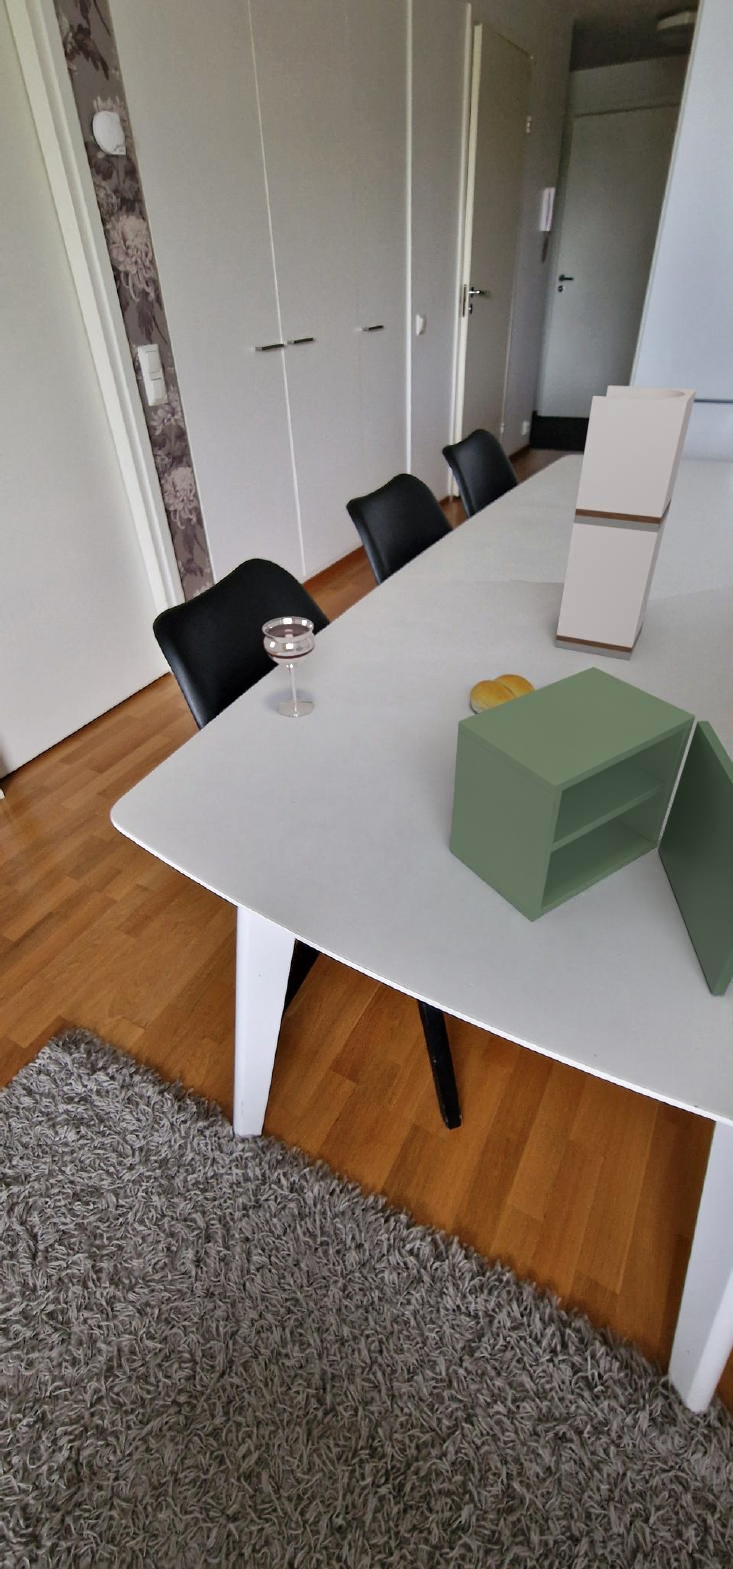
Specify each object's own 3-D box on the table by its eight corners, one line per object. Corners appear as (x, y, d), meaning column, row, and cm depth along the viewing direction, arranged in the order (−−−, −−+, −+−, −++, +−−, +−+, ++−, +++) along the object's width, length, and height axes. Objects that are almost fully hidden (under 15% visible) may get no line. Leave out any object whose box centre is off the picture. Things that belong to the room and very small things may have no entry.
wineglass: (323, 696, 100) (318, 617, 93) (315, 721, 95) (309, 639, 88) (277, 694, 101) (268, 615, 94) (266, 719, 96) (256, 637, 88)
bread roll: (458, 700, 98) (460, 675, 96) (512, 686, 101) (515, 661, 99) (490, 729, 92) (493, 702, 90) (547, 713, 95) (551, 687, 93)
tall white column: (640, 632, 115) (696, 389, 94) (629, 660, 107) (687, 401, 86) (570, 621, 119) (609, 385, 98) (554, 646, 111) (592, 397, 90)
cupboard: (656, 846, 73) (696, 715, 64) (531, 921, 66) (555, 785, 56) (569, 790, 81) (593, 666, 72) (449, 851, 74) (458, 721, 64)
